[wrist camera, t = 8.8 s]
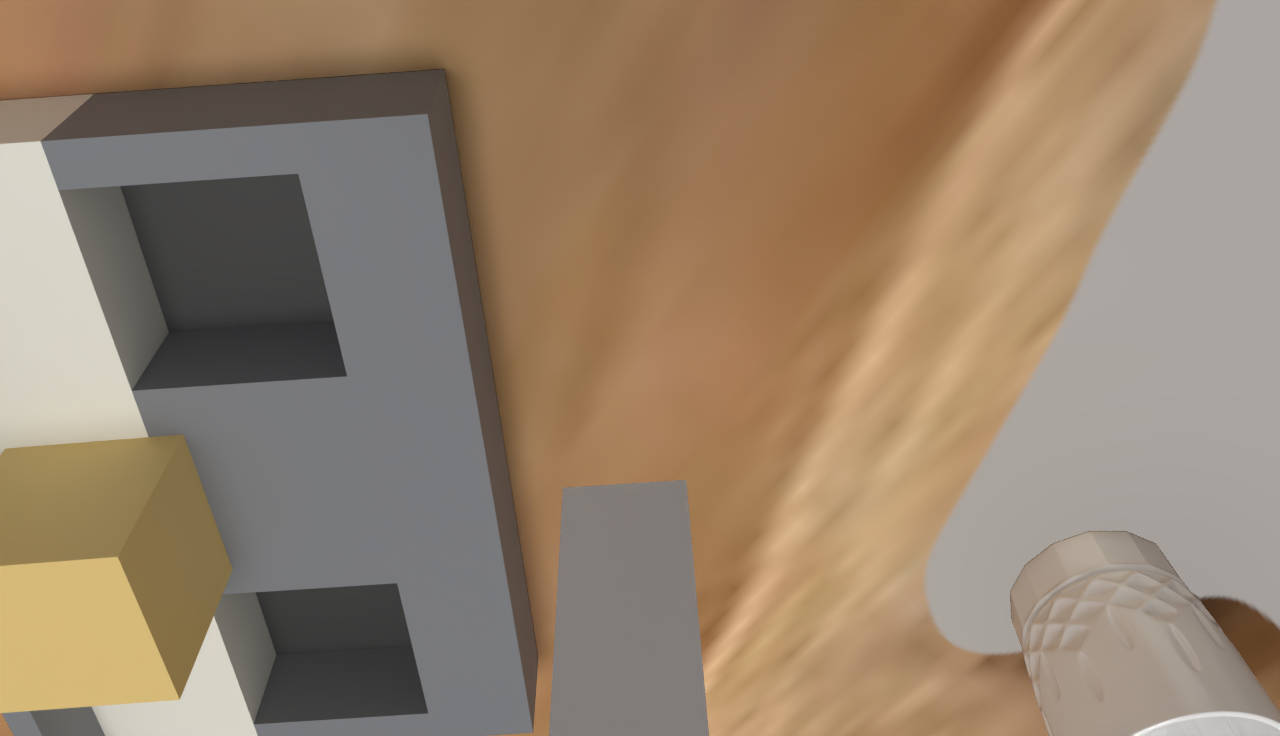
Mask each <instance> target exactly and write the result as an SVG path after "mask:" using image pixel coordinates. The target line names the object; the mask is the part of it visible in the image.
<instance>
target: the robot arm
mask: <svg viewBox="0 0 1280 736" xmlns="http://www.w3.org/2000/svg"><path fill="white" fill-rule="evenodd" d="M549 736H709V731H708V720H707V709H706V698H705V686H704V675H703V664H702V653H701V641H700V630H699V619H698V608H697V596H696V585H695V574H694V563H693V551H692V540H691V529H690V518H689V506H688V495H687V484H686V480H679V481H663V482H647V483H632V484H616V485H600V486H584V487H569V488H563V497H562V515H561V533H560V551H559V568H558V586H557V604H556V622H555V640H554V657H553V675H552V693H551V711H550V728H549Z"/></svg>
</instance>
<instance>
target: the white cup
mask: <svg viewBox="0 0 1280 736" xmlns="http://www.w3.org/2000/svg"><path fill="white" fill-rule="evenodd" d="M1010 602H1011V619H1012V622H1013V625H1014V627H1015V630H1016V633H1017V636H1018V639H1019V641H1020V644H1021V647H1022V650H1023V652H1024V659H1025V663H1026V667H1027V671H1028V674H1029V678H1030V681H1031V683H1032V685H1033V688H1034V691H1035V695H1036V698H1037V702H1038V705H1039V709H1040V712H1041V715H1042V718H1043V721H1044V724H1045V727H1046V729H1047V732H1048V735H1049V736H1280V711H1279V710H1278V708H1277V707H1276V705H1275V704H1274V702H1273V701H1272V700H1271V698H1270V697H1269V696H1268V694H1267V693H1266V692H1265V690H1264V689H1263V687H1262V686H1261V684H1260V683H1259V682H1258V680H1257V679H1256V677H1255V676H1254V674H1253V673H1252V672H1251V670H1250V669H1249V667H1248V666H1247V664H1246V663H1245V661H1244V660H1243V658H1242V656H1241V655H1240V653H1239V652H1238V650H1237V649H1236V648H1235V646H1234V645H1233V644H1232V643H1231V641H1230V640H1229V639H1228V638H1227V637H1226V636H1225V635H1224V633H1223V631H1222V630H1221V628H1220V626H1219V625H1218V623H1217V622H1216V621H1215V619H1214V618H1213V617H1212V616H1211V614H1210V613H1209V612H1208V611H1207V610H1206V608H1205V607H1204V605H1203V604H1202V602H1201V601H1200V599H1199V598H1198V597H1197V596H1196V595H1195V594H1193V593H1192V592H1191V591H1190V590H1189V589H1188V587H1187V586H1186V585H1185V584H1184V582H1183V581H1182V580H1181V579H1180V578H1179V576H1178V575H1177V573H1176V572H1175V570H1174V569H1173V567H1172V566H1171V565H1170V563H1169V562H1168V560H1167V559H1166V557H1165V556H1164V555H1163V553H1162V552H1161V550H1160V549H1159V547H1158V546H1157V545H1156V544H1155V543H1153V542H1151V541H1148V540H1146V539H1144V538H1141V537H1139V536H1137V535H1134V534H1132V533H1129V532H1127V531H1088V532H1085V533H1083V534H1080V535H1076V536H1073V537H1070V538H1067V539H1064V540H1062V541H1059V542H1056V543H1054V544H1052V545H1050V546H1049V547H1048V548H1047V549H1045V550H1044V551H1042V552H1041V553H1040V554H1039V555H1037V556H1036V557H1035V558H1033V559H1032V560H1031V561H1030V562H1028V563H1027V564H1026V565H1025V566H1024V568H1023V570H1022V572H1021V573H1020V575H1019V576H1018V578H1017V580H1016V582H1015V584H1014V585H1013V587H1012V589H1011V591H1010Z"/></svg>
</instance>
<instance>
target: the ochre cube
mask: <svg viewBox="0 0 1280 736" xmlns="http://www.w3.org/2000/svg"><path fill="white" fill-rule="evenodd" d="M232 570H233V569H232V566H231V563H230V561H229V558H228V555H227V552H226V550H225V547H224V544H223V541H222V539H221V536H220V533H219V530H218V528H217V525H216V522H215V520H214V517H213V514H212V511H211V509H210V506H209V503H208V500H207V498H206V495H205V492H204V489H203V487H202V484H201V481H200V478H199V476H198V473H197V470H196V467H195V465H194V462H193V459H192V456H191V454H190V451H189V448H188V446H187V443H186V440H185V437H184V435H183V434H181V435H169V436H156V437H144V438H131V439H119V440H106V441H94V442H81V443H69V444H56V445H44V446H31V447H19V448H6V449H5V450H4V451H3V452H2V454H1V455H0V713H10V712H23V711H37V710H50V709H64V708H77V707H90V706H104V705H117V704H131V703H144V702H158V701H171V700H180V698H181V696H182V693H183V691H184V688H185V686H186V683H187V681H188V678H189V676H190V673H191V671H192V668H193V666H194V664H195V661H196V659H197V656H198V654H199V651H200V649H201V646H202V644H203V641H204V639H205V636H206V634H207V631H208V629H209V626H210V624H211V622H212V619H213V617H214V614H215V612H216V609H217V607H218V604H219V602H220V599H221V597H222V594H223V592H224V589H225V587H226V585H227V582H228V580H229V577H230V575H231V572H232Z"/></svg>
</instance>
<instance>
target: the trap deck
mask: <svg viewBox="0 0 1280 736" xmlns="http://www.w3.org/2000/svg"><path fill="white" fill-rule="evenodd" d="M181 434H183V435H184V437H185V440H186V443H187V446H188V448H189V451H190V454H191V456H192V459H193V462H194V465H195V467H196V470H197V473H198V476H199V478H200V481H201V484H202V487H203V489H204V492H205V495H206V498H207V500H208V503H209V506H210V509H211V511H212V514H213V517H214V520H215V522H216V525H217V528H218V530H219V533H220V536H221V539H222V541H223V544H224V547H225V550H226V552H227V555H228V558H229V561H230V563H231V566H232V569H233V570H232V572H231V575H230V577H229V580H228V582H227V585H226V587H225V589H224V592H223V594H222V597H221V599H220V602H219V604H218V607H217V609H216V612H215V614H214V617H213V619H212V622H211V624H210V626H209V629H208V631H207V634H206V636H205V639H204V641H203V644H202V646H201V649H200V651H199V654H198V656H197V659H196V661H195V664H194V666H193V668H192V671H191V673H190V676H189V678H188V681H187V683H186V686H185V688H184V691H183V693H182V696H181V698H180V700H171V701H158V702H144V703H131V704H117V705H104V706H90V707H77V708H64V709H50V710H37V711H23V712H10V713H2V715H3V716H4V718H5V720H6V722H7V724H8V726H9V728H10V729H11V731H12V733H13V735H14V736H485V735H501V734H517V733H533V726H534V712H535V697H536V682H537V668H538V654H537V648H536V641H535V635H534V629H533V622H532V616H531V610H530V603H529V597H528V591H527V585H526V578H525V572H524V566H523V559H522V553H521V547H520V540H519V534H518V528H517V522H516V515H515V509H514V503H513V496H512V490H511V484H510V478H509V471H508V465H507V459H506V452H505V446H504V440H503V433H502V427H501V421H500V415H499V408H498V402H497V396H496V389H495V383H494V377H493V370H492V364H491V358H490V352H489V345H488V339H487V333H486V326H485V320H484V314H483V307H482V301H481V295H480V289H479V282H478V276H477V270H476V263H475V257H474V251H473V244H472V238H471V232H470V226H469V219H468V213H467V207H466V200H465V194H464V188H463V182H462V175H461V169H460V163H459V156H458V150H457V144H456V137H455V131H454V125H453V119H452V112H451V106H450V100H449V93H448V87H447V81H446V74H445V69H440V70H426V71H412V72H398V73H384V74H370V75H355V76H341V77H327V78H313V79H299V80H285V81H271V82H257V83H242V84H228V85H214V86H200V87H186V88H172V89H158V90H143V91H129V92H115V93H101V94H87V95H73V96H59V97H44V98H30V99H16V100H2V101H0V455H1V454H2V452H3V451H4V450H5V449H6V448H19V447H31V446H44V445H56V444H69V443H81V442H94V441H106V440H119V439H131V438H144V437H156V436H169V435H181Z"/></svg>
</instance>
